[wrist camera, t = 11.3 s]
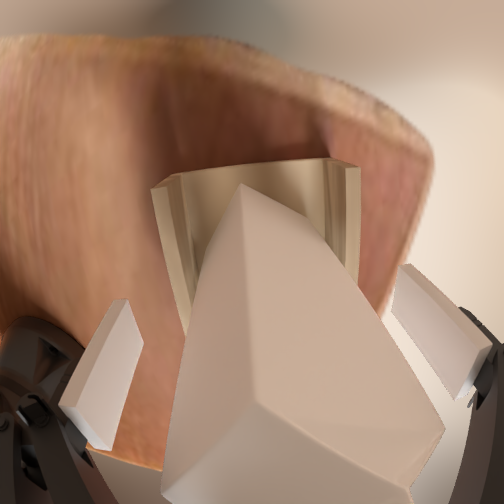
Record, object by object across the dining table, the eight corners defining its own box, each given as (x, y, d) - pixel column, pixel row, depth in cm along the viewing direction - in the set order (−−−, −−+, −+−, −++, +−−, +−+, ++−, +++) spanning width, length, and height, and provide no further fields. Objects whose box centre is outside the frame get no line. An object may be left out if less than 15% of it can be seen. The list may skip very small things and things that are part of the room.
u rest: (196, 301, 26) (187, 344, 21) (171, 174, 22) (150, 189, 16) (332, 285, 26) (353, 323, 21) (330, 157, 22) (360, 167, 16)
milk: (308, 217, 23) (493, 509, 3) (270, 279, 25) (333, 575, 5) (238, 181, 21) (279, 600, 1) (203, 249, 23) (151, 581, 3)
